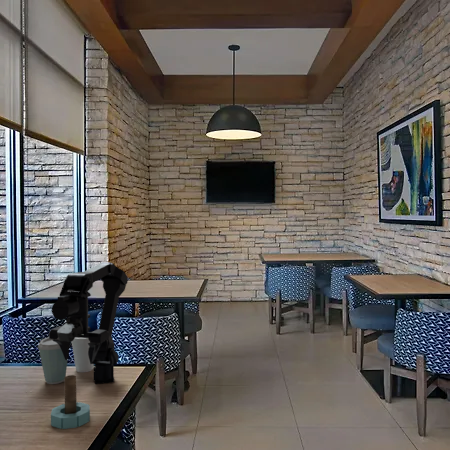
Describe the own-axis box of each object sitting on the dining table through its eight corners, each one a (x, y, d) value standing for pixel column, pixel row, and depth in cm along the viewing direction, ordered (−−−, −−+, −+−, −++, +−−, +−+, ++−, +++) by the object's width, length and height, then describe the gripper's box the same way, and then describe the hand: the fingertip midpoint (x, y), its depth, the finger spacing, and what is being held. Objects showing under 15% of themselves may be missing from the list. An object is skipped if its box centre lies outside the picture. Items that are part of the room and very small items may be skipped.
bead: (89, 410, 141) (89, 400, 141) (89, 425, 131) (89, 415, 131) (53, 414, 139) (53, 404, 139) (49, 430, 129) (49, 419, 129)
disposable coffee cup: (64, 386, 160) (63, 343, 160) (33, 386, 161) (32, 343, 160) (74, 376, 171) (74, 335, 171) (45, 375, 171) (44, 335, 171)
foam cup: (66, 371, 175) (65, 337, 175) (81, 364, 184) (81, 331, 184) (87, 374, 172) (87, 339, 172) (102, 366, 181) (102, 333, 180)
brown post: (76, 417, 137) (76, 374, 137) (76, 421, 134) (75, 378, 134) (65, 418, 136) (64, 375, 136) (64, 423, 133) (64, 379, 133)
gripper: (37, 316, 145) (37, 366, 145) (90, 320, 140) (90, 372, 140) (59, 309, 156) (60, 355, 156) (109, 312, 150) (110, 360, 151)
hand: (79, 361), depth 151 cm, fingers open, 9 cm apart
